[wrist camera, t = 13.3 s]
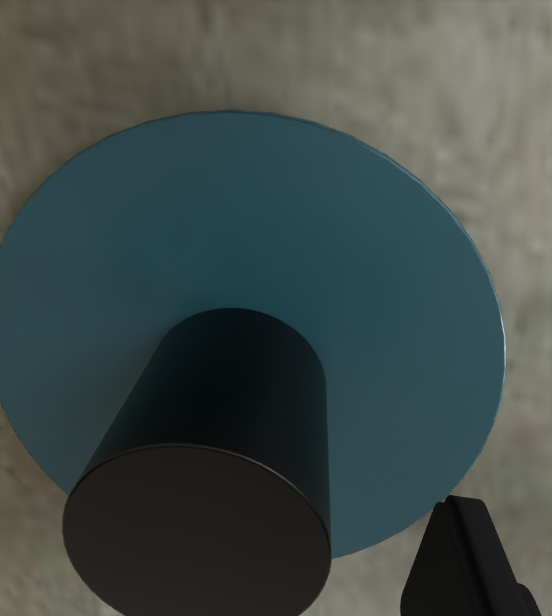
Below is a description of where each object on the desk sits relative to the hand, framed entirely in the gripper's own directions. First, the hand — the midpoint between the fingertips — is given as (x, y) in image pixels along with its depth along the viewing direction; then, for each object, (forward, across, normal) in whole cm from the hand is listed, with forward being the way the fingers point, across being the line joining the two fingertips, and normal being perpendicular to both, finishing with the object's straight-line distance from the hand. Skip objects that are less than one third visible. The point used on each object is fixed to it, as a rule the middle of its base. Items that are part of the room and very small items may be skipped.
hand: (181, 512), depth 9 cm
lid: (+6, 0, +1) cm, 6 cm away
